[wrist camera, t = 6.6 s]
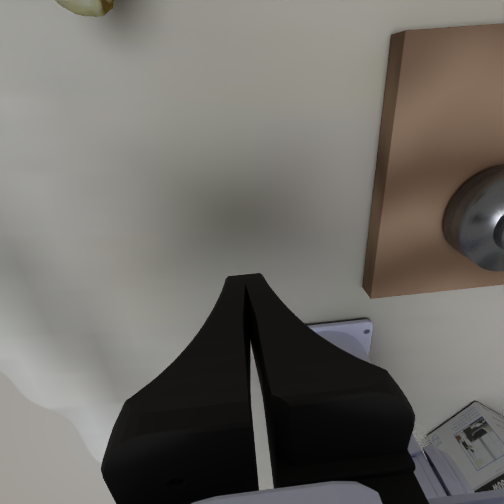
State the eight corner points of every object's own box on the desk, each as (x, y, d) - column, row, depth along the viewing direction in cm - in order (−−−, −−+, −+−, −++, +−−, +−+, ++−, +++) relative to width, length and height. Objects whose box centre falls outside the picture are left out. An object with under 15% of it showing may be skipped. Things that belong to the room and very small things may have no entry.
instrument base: (538, 268, 25) (580, 292, 22) (362, 286, 24) (381, 314, 21) (642, 16, 17) (726, 3, 14) (391, 34, 17) (426, 24, 14)
